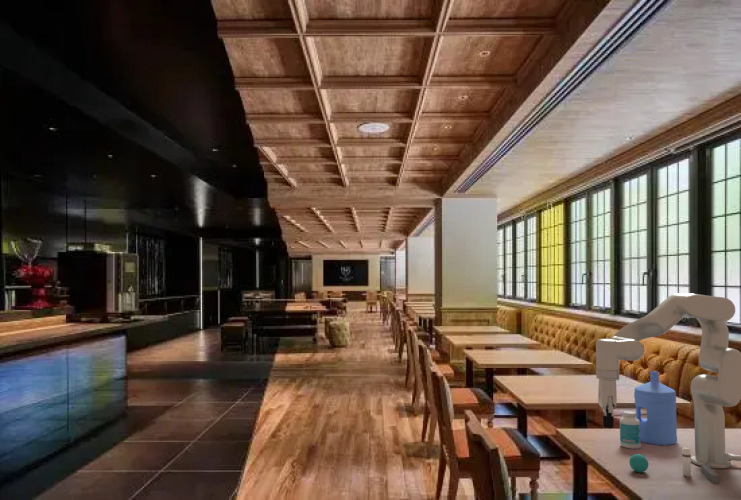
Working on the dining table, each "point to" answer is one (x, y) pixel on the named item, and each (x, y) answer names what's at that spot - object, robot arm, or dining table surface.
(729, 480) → the dining table surface
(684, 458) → the pin
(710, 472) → the grey block
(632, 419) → the pill bottle
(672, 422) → the water jug
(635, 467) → the ball
